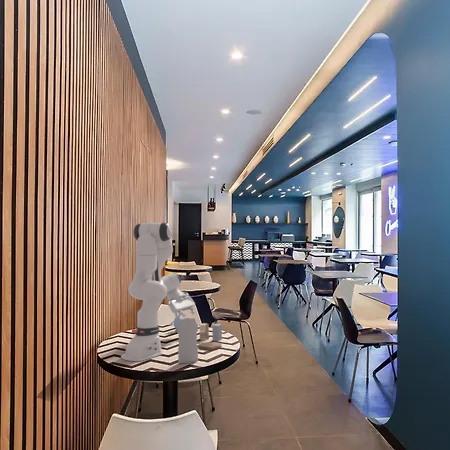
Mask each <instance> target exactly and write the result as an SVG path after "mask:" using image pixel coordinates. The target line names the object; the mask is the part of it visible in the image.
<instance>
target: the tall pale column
mask: <svg viewBox="0 0 450 450" xmlns="http://www.w3.org/2000/svg"><path fill="white" fill-rule="evenodd" d="M198 331H199V323H197V321H196V318H195V317H183V318H181V319H180V321H179V325H178V326H177V331H176V333H177V336H178V349H177V354H178V358H177V359H178V361H177V362H178V364H181V365H182V364H191V363H196V362H199V357H198V356H199V348H198V344H197V343H198V339H197V338H198V333H197V332H198Z"/></svg>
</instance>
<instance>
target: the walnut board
mask: <svg viewBox="0 0 450 450" xmlns="http://www.w3.org/2000/svg"><path fill="white" fill-rule="evenodd" d="M197 346H198V350H202V351H214V350H216V351H217V350H218V349H221V348H222V343H220V342H219V341H204V342H201V343H199V344H197Z"/></svg>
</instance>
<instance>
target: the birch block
mask: <svg viewBox="0 0 450 450" xmlns="http://www.w3.org/2000/svg"><path fill="white" fill-rule="evenodd" d="M198 330H199V340H201V341H207V340H209V339H210V332H209V331H210V329H209V323H206V322H203V323H200V324H198Z"/></svg>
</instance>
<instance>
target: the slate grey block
mask: <svg viewBox="0 0 450 450" xmlns="http://www.w3.org/2000/svg"><path fill="white" fill-rule="evenodd" d="M211 327H212V328H211V329H212V330H211V331H212V341H213V342H220V341H222V340H223V335H222V334H223V333H222V331H223V330H222V324H221V323H214V324H212V326H211Z"/></svg>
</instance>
